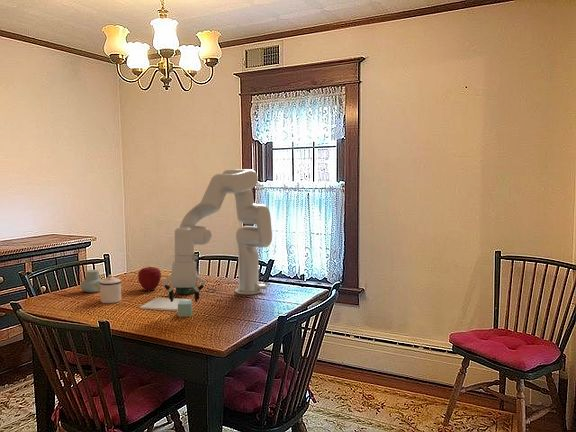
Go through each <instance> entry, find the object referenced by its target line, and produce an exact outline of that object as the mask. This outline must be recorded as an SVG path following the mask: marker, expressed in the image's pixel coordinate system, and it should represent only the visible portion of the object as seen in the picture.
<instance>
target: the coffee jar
mask: <svg viewBox="0 0 576 432" xmlns="http://www.w3.org/2000/svg"><path fill="white" fill-rule="evenodd" d="M194 255H195V256H197V254H195V253H194ZM194 261H195V262H196V265H197V264H198V258H197V259H196V260H194ZM195 292H196V290H195V289H194V288H193V287H175V293H177V294H178V295H189V294H190V295H191V294H195Z"/></svg>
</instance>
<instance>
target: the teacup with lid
mask: <svg viewBox="0 0 576 432" xmlns="http://www.w3.org/2000/svg"><path fill="white" fill-rule="evenodd" d="M99 293H100V302H101V303H102V304H114V303H115V304H116V303H119V302H121V301H122V280H121V278H117V277H114V275H113V274H108V275H107V277H105V278H103V279H102V280H101V281H100V285H99Z"/></svg>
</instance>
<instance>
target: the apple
mask: <svg viewBox="0 0 576 432" xmlns="http://www.w3.org/2000/svg"><path fill="white" fill-rule="evenodd" d="M161 272H162V271H161V270H160V269H159V268H157V267H152V266H150V265H149V266H148V267H143V268H141V269H140V270H139V271H138V276H137V278H138V282H139V284H140V286H141V287H142V288H143V289H144V290H145V291H148V292H149V291H153V290H155V289H156V288H157V287H158V286H159V284H160V281H161V278H162V273H161Z"/></svg>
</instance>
